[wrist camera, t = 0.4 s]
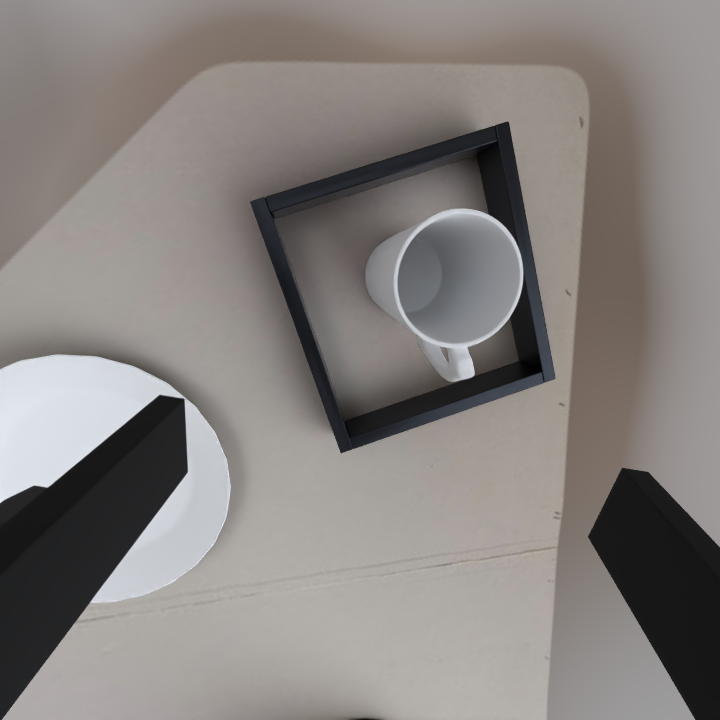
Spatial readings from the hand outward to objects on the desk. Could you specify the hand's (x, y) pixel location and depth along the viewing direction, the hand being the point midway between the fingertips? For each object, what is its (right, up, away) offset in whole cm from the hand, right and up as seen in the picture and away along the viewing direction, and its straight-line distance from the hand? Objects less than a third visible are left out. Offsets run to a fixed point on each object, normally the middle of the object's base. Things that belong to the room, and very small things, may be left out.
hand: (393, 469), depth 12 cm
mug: (+3, +9, +19) cm, 21 cm away
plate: (-22, -6, +20) cm, 30 cm away
